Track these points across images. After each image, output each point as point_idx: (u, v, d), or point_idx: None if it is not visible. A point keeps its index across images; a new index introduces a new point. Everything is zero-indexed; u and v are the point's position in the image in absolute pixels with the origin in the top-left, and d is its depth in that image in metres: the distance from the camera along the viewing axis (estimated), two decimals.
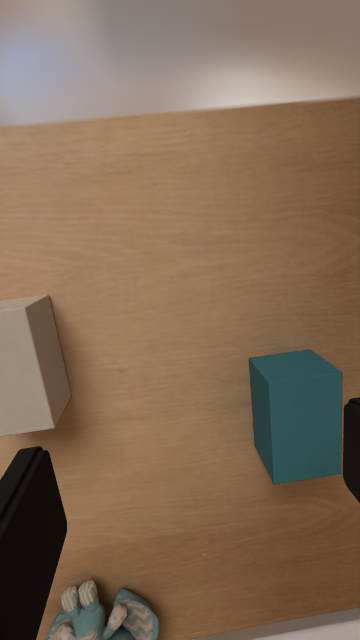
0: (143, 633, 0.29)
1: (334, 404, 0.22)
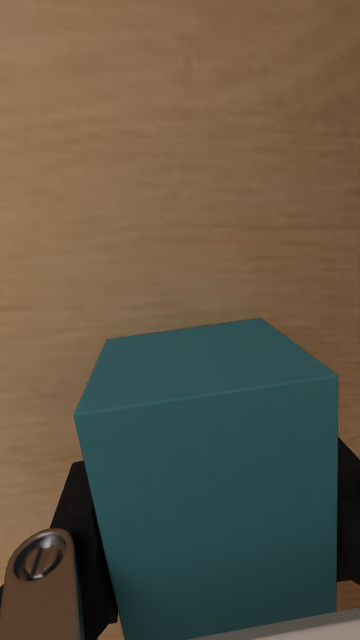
0: None
1: (313, 481, 0.07)
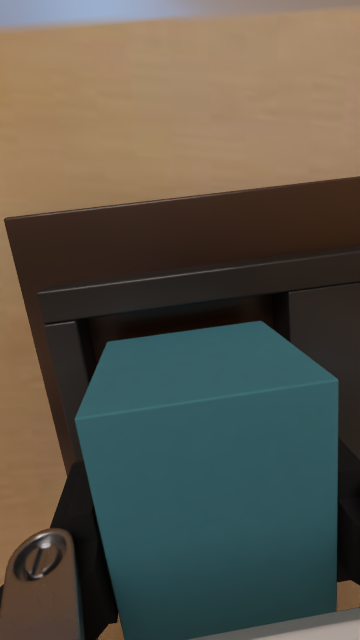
0: None
1: (313, 483, 0.07)
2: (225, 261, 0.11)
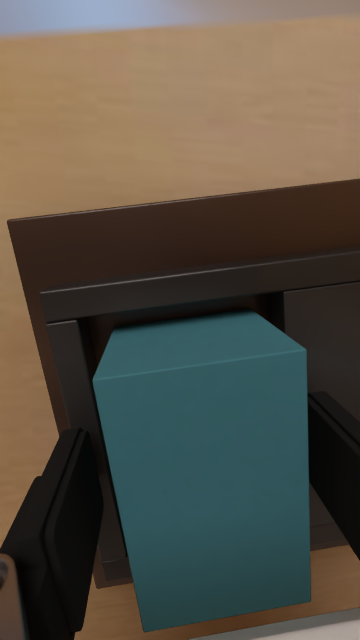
0: None
1: (287, 437, 0.08)
2: (222, 262, 0.11)
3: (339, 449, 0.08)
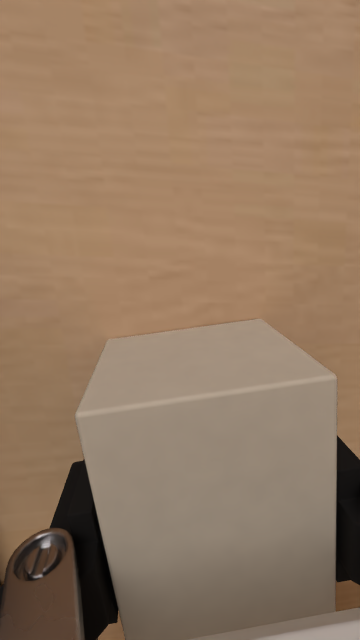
0: None
1: None
2: None
3: None
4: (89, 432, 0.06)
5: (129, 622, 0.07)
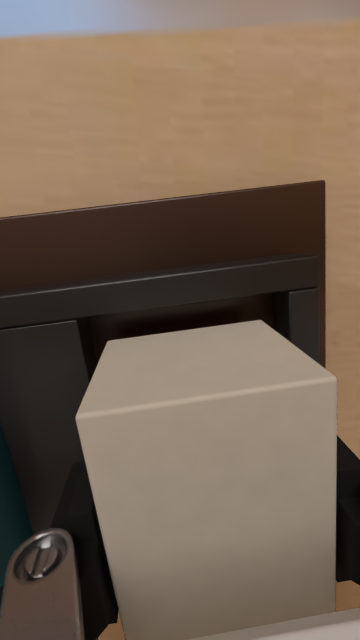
0: None
1: None
2: None
3: None
4: (89, 434, 0.06)
5: (130, 624, 0.07)
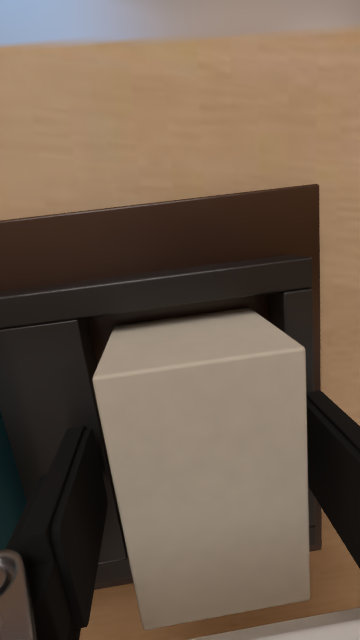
0: None
1: None
2: None
3: (333, 448, 0.08)
4: (103, 392, 0.07)
5: (135, 558, 0.09)
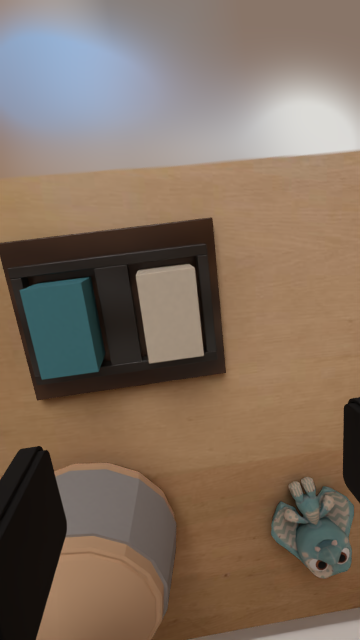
0: (341, 517, 0.40)
1: (79, 310, 0.27)
2: (77, 258, 0.30)
3: None
4: (138, 279, 0.27)
5: (146, 334, 0.28)
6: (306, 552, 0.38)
